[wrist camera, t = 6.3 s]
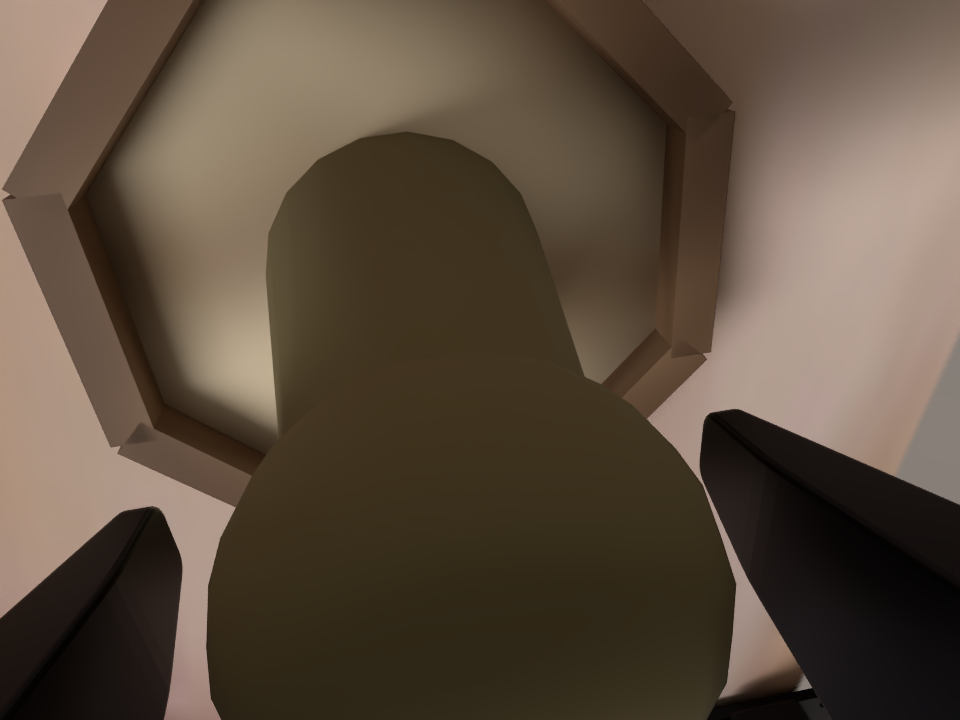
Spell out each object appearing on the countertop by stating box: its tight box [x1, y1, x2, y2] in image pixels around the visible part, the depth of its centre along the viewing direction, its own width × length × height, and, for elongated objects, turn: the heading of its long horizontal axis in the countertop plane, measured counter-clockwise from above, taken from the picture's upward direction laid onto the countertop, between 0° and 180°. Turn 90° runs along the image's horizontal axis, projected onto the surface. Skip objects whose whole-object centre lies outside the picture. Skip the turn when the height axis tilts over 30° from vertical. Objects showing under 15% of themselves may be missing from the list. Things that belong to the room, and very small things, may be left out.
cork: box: [206, 131, 736, 720], centre depth 10 cm, size 6×6×11 cm
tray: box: [2, 0, 735, 507], centre depth 15 cm, size 14×14×2 cm
